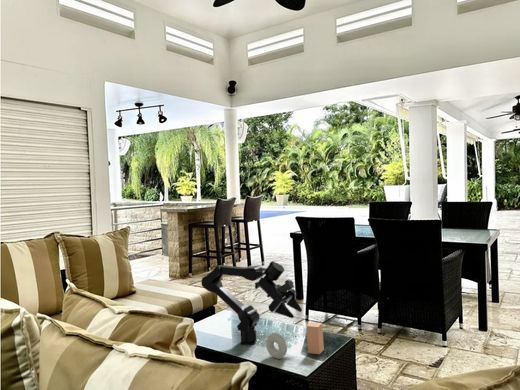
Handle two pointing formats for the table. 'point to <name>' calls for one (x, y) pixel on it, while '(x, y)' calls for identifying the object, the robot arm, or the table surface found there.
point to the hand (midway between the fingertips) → (297, 314)
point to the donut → (271, 348)
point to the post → (315, 338)
